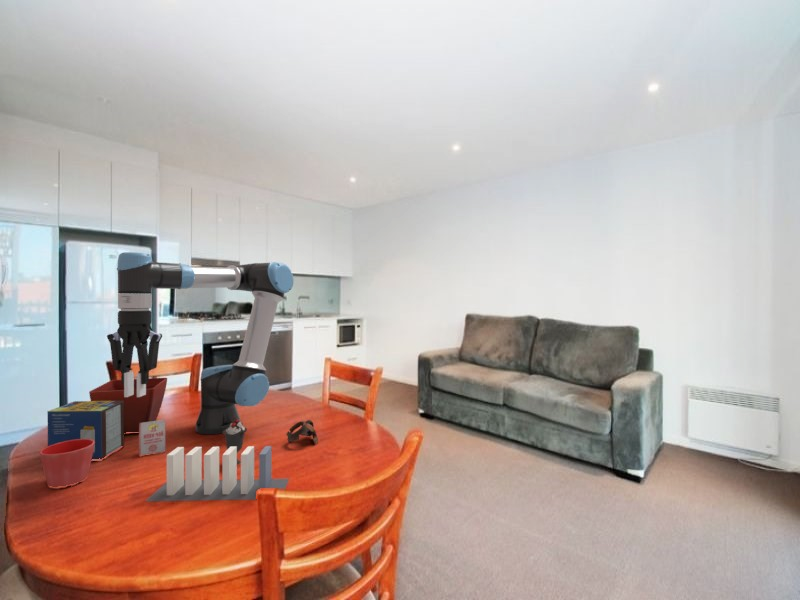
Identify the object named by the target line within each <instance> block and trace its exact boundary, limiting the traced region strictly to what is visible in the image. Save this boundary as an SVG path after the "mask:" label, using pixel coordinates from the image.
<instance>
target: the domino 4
mask: <svg viewBox="0 0 800 600" xmlns="http://www.w3.org/2000/svg"><path fill="white" fill-rule="evenodd" d="M221 458H222V461H221V462H222V477H221V478H222V479H221V480H222V494H230V492H231V491H232V490H233V488H234V487H235V486H236V484H237V479H238V474H237V473H238V469H237V468H238V465H237V459H238V453H237V446H231V447H230V448H229V449H228V450H227V449H226V450H225V452H224V453H223V454H222V457H221Z"/></svg>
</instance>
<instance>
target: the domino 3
mask: <svg viewBox="0 0 800 600" xmlns="http://www.w3.org/2000/svg"><path fill="white" fill-rule="evenodd" d="M203 480H204V495H211V493H212V492H213V491H214V490H215V489H216V488H217V486H218V485H219V480H220V446H212V447H211V448H210V449H208V451H207V452H206V453H204V455H203Z"/></svg>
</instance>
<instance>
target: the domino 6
mask: <svg viewBox="0 0 800 600" xmlns="http://www.w3.org/2000/svg"><path fill="white" fill-rule="evenodd" d="M272 455H273V453H272V445H265V446H264V447H263V448H262V450H261V451H260V453H259V457H258V462H259V463H258V479H259V489H260V488H269V487H270V485H271V479H272V468H273V467H272V463H273V462H272V459H273V458H272Z"/></svg>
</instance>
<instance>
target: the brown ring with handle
mask: <svg viewBox="0 0 800 600" xmlns="http://www.w3.org/2000/svg"><path fill="white" fill-rule="evenodd" d="M314 427H315V426H314V422H313V421H312V420H311V419H307V420H306V421H305V420H301V421H299V422H296V423H295V424H293V425H292V426H291V427H290V428H289V429H288V431H287V432H286V436H287V442H288V443H292V442H295V441H297V442H300V436H302V437H303V436H304V437H305V436H306V437H311V436H312V441H313V443H314V445H315V446H317V444H318V443H319V438H318V435H317V433H316V430H315V428H314ZM298 428H299V429H298ZM297 429H298V430H297Z"/></svg>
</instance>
